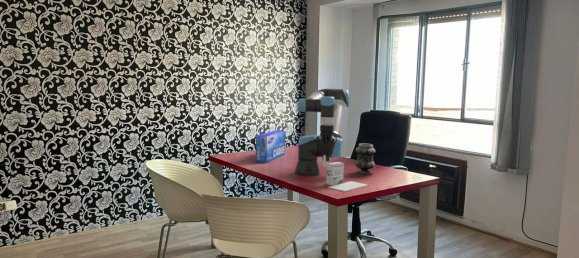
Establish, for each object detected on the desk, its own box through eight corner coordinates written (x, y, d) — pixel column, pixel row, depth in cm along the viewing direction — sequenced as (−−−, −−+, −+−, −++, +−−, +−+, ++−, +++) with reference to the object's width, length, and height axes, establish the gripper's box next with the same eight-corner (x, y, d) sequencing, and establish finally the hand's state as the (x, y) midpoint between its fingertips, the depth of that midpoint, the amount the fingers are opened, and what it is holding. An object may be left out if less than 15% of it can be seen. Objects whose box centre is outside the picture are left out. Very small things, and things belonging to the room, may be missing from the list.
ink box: (337, 182, 245) (338, 161, 244) (343, 184, 241) (344, 162, 240) (325, 183, 240) (326, 162, 239) (331, 185, 236) (332, 164, 235)
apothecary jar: (378, 173, 270) (379, 144, 268) (366, 176, 262) (367, 146, 260) (362, 170, 279) (363, 142, 277) (350, 172, 270) (351, 143, 268)
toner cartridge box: (266, 163, 294) (266, 136, 292) (254, 162, 297) (255, 135, 294) (285, 154, 331) (286, 130, 328) (275, 153, 333) (275, 129, 331)
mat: (328, 188, 231) (328, 186, 231) (351, 182, 245) (351, 181, 245) (345, 192, 224) (345, 190, 223) (367, 185, 238) (367, 184, 238)
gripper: (313, 123, 244) (312, 165, 246) (331, 126, 235) (330, 169, 237) (322, 123, 249) (321, 164, 252) (340, 125, 240) (339, 167, 242)
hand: (325, 166), depth 244 cm, fingers closed
